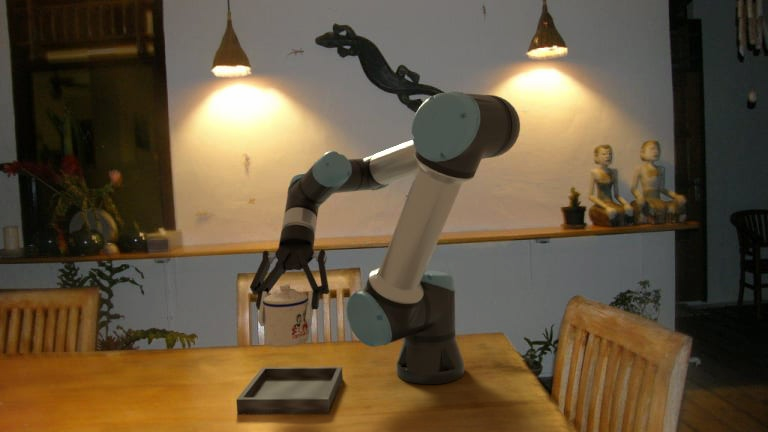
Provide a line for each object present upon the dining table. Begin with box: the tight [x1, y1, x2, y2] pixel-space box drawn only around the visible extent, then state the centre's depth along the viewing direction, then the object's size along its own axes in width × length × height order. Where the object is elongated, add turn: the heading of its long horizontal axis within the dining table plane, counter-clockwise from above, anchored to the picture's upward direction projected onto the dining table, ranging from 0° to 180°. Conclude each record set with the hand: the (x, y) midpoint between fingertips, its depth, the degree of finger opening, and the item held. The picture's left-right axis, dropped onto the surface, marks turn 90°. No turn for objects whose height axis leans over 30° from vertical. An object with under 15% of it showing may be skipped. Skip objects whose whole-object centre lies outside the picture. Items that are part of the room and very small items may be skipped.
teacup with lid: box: [263, 283, 310, 348], centre depth 125 cm, size 12×9×12 cm
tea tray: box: [236, 366, 344, 415], centre depth 127 cm, size 18×18×3 cm
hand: (284, 322), depth 122 cm, fingers closed on teacup with lid, 9 cm apart
